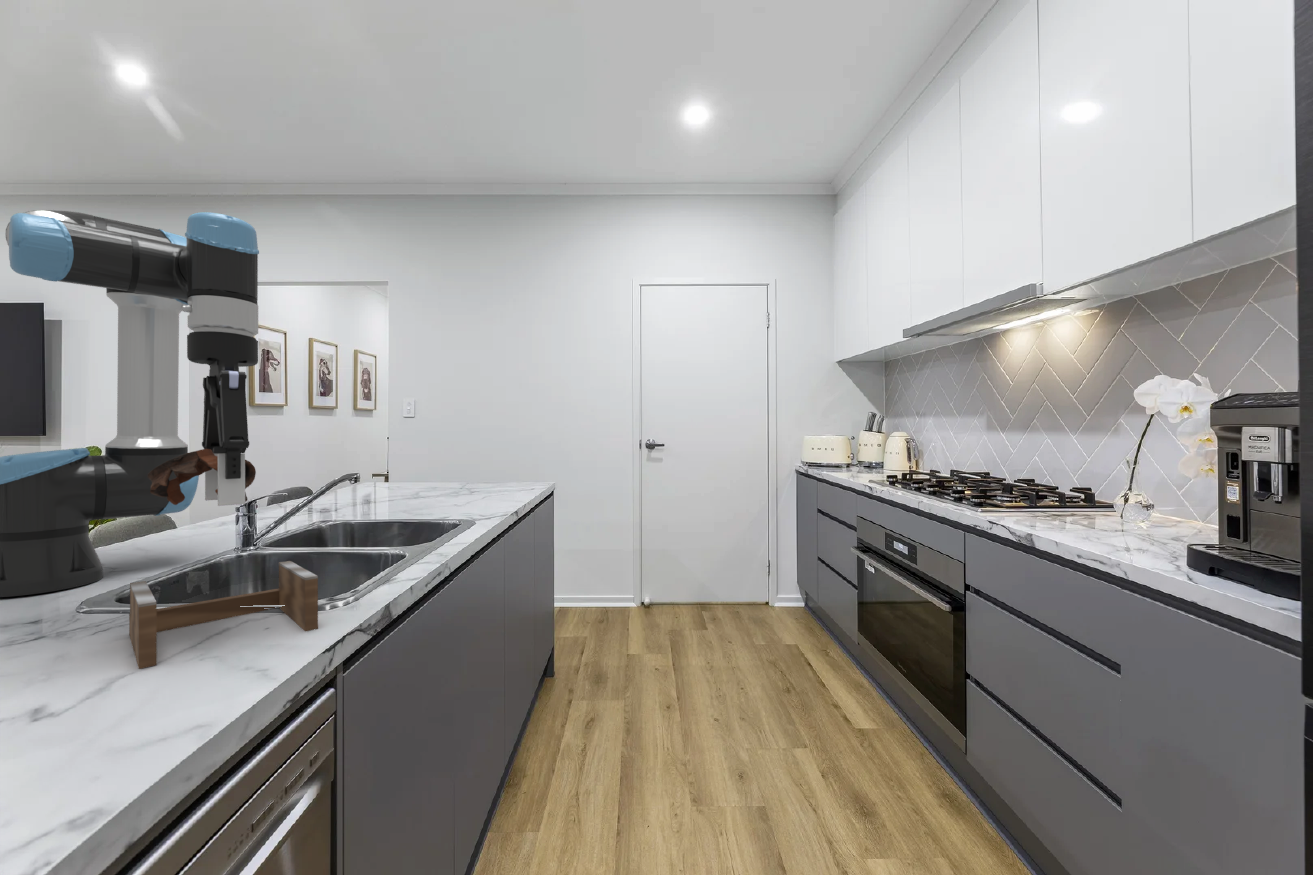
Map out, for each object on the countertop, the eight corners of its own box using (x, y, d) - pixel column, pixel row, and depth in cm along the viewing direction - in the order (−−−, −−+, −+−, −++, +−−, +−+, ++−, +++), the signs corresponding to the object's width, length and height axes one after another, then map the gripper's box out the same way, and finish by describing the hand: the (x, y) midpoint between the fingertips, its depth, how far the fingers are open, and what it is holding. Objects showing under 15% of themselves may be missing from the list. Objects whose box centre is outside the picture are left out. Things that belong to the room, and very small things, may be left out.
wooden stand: (129, 635, 74) (129, 580, 74) (287, 606, 87) (287, 559, 87) (138, 668, 63) (138, 604, 63) (317, 629, 76) (317, 575, 76)
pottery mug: (209, 510, 68) (169, 452, 67) (159, 543, 70) (120, 488, 69) (287, 482, 80) (253, 432, 79) (242, 511, 82) (209, 463, 81)
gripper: (176, 341, 80) (177, 498, 80) (200, 317, 64) (201, 511, 64) (241, 347, 85) (241, 494, 85) (277, 326, 70) (278, 505, 70)
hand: (224, 501), depth 75 cm, fingers closed on pottery mug, 9 cm apart
